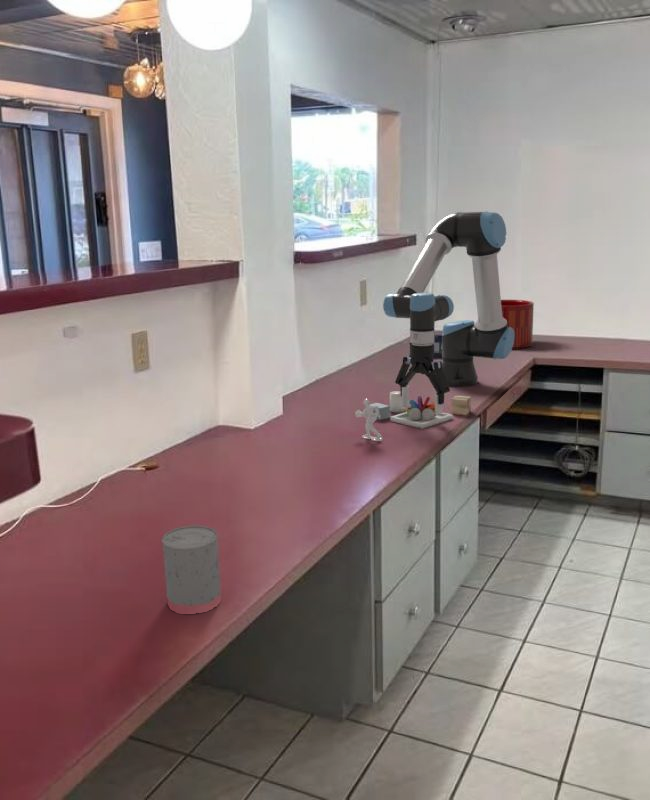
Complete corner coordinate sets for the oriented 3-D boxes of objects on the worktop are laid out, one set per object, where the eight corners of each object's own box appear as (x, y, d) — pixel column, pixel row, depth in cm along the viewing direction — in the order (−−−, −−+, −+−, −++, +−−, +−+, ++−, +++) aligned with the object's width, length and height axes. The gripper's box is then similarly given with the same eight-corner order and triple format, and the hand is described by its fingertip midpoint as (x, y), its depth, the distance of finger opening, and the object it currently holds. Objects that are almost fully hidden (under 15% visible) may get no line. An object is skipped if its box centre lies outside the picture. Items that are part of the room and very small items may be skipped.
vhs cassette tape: (409, 358, 346) (409, 335, 344) (409, 356, 349) (409, 334, 346) (451, 358, 344) (451, 335, 341) (451, 356, 347) (451, 334, 344)
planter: (475, 342, 379) (476, 300, 374) (521, 340, 382) (523, 298, 377) (490, 350, 357) (492, 306, 352) (539, 348, 359) (541, 304, 354)
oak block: (455, 410, 259) (456, 395, 258) (470, 411, 257) (470, 396, 256) (451, 413, 255) (451, 398, 254) (465, 415, 253) (466, 400, 251)
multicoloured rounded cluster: (436, 422, 243) (436, 399, 241) (405, 421, 245) (405, 399, 243) (438, 415, 251) (438, 393, 249) (408, 414, 253) (408, 392, 251)
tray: (421, 411, 258) (421, 407, 257) (452, 418, 249) (452, 414, 248) (390, 420, 248) (390, 416, 248) (421, 428, 239) (422, 424, 238)
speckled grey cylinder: (193, 583, 145) (189, 521, 142) (233, 597, 140) (229, 533, 137) (155, 605, 137) (150, 540, 134) (195, 620, 132) (190, 553, 129)
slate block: (377, 414, 256) (377, 402, 256) (389, 418, 252) (389, 406, 251) (368, 416, 254) (367, 404, 253) (380, 420, 250) (380, 408, 249)
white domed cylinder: (396, 407, 264) (396, 390, 262) (408, 410, 260) (408, 392, 259) (386, 410, 260) (386, 393, 259) (397, 413, 257) (397, 395, 255)
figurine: (379, 442, 226) (378, 402, 223) (351, 438, 231) (350, 399, 228) (386, 438, 230) (386, 398, 227) (359, 434, 235) (358, 395, 232)
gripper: (384, 340, 249) (384, 405, 254) (446, 350, 231) (445, 419, 236) (400, 337, 254) (400, 401, 259) (462, 346, 236) (460, 414, 241)
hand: (421, 410), depth 247 cm, fingers open, 13 cm apart
